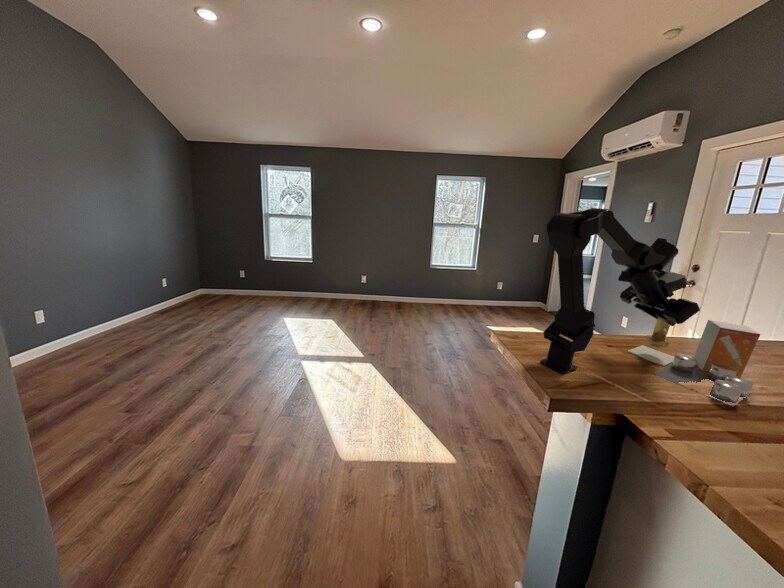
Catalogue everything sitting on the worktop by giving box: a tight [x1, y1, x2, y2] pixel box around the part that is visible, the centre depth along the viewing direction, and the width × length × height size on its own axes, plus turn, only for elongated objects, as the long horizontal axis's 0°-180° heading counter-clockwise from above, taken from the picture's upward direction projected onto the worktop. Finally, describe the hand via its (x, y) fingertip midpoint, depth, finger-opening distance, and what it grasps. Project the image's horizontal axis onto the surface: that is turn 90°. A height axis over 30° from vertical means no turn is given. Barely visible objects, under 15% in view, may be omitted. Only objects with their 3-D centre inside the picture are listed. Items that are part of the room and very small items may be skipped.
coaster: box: [627, 344, 675, 367], centre depth 92 cm, size 9×9×1 cm
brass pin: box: [644, 311, 671, 349], centre depth 89 cm, size 5×5×13 cm
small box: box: [692, 319, 761, 377], centre depth 85 cm, size 8×6×13 cm
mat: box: [653, 364, 709, 385], centre depth 80 cm, size 15×15×1 cm
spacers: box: [670, 353, 754, 403], centre depth 79 cm, size 15×15×4 cm
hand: (668, 322), depth 89 cm, fingers closed on brass pin, 3 cm apart
